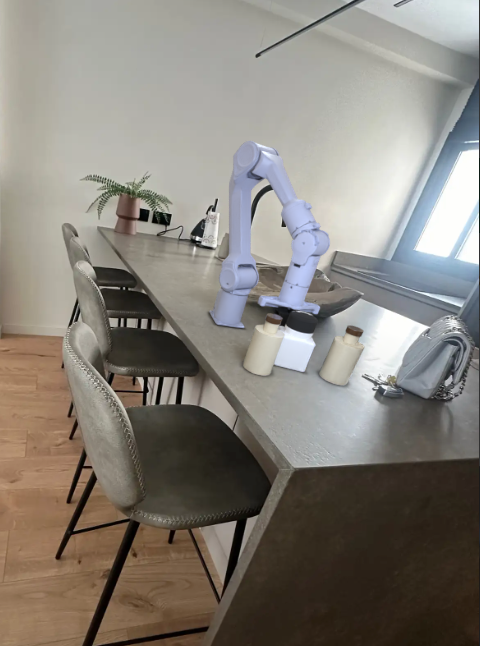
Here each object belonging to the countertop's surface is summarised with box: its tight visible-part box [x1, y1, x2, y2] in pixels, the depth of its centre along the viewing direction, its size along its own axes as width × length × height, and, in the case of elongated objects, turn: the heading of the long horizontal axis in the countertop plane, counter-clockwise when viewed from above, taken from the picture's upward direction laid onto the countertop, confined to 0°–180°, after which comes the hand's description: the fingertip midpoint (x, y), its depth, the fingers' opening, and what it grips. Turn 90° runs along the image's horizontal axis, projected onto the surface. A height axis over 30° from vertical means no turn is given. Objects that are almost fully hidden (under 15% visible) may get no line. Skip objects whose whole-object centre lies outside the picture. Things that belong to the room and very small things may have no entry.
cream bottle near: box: [242, 312, 284, 377], centre depth 77 cm, size 6×6×12 cm
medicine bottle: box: [273, 311, 319, 373], centre depth 83 cm, size 7×7×12 cm
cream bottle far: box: [318, 324, 365, 386], centre depth 80 cm, size 6×6×12 cm
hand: (277, 336), depth 91 cm, fingers closed
